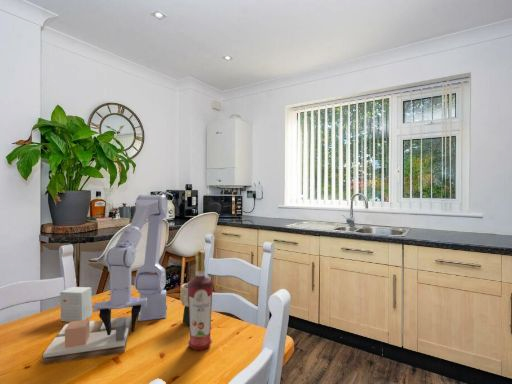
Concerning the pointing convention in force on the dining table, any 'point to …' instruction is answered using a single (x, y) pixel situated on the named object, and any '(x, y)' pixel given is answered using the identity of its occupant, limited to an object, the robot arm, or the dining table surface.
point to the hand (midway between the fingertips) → (121, 332)
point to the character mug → (185, 302)
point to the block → (77, 333)
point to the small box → (76, 304)
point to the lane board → (94, 327)
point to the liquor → (200, 306)
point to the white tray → (91, 341)
